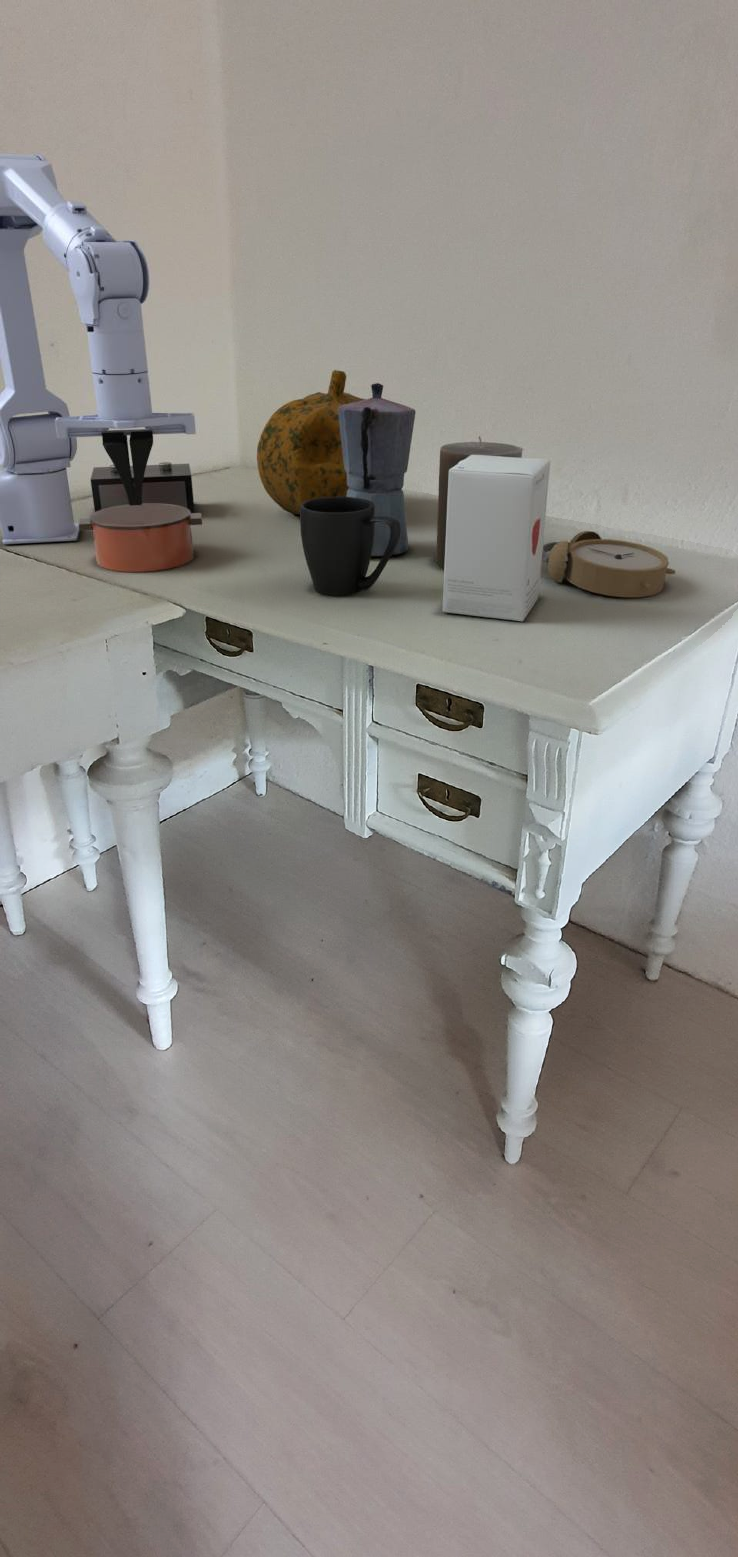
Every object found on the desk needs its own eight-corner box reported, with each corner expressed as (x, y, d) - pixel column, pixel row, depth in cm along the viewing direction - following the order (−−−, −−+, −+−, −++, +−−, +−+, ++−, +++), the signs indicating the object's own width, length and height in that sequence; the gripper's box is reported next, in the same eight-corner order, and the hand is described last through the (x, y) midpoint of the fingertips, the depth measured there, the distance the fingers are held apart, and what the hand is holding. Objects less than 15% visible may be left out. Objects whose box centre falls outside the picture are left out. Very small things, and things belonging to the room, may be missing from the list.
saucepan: (82, 575, 115) (75, 529, 113) (87, 548, 126) (81, 506, 123) (207, 568, 118) (203, 522, 115) (202, 542, 128) (198, 500, 126)
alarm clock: (647, 579, 103) (526, 533, 110) (633, 621, 106) (517, 574, 112) (686, 556, 111) (571, 514, 118) (672, 595, 114) (561, 552, 120)
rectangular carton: (524, 623, 100) (536, 474, 93) (440, 614, 102) (445, 468, 95) (541, 597, 107) (553, 457, 100) (462, 589, 110) (468, 452, 103)
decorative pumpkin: (246, 496, 149) (250, 355, 139) (377, 499, 154) (389, 364, 144) (267, 533, 132) (273, 376, 122) (413, 536, 138) (430, 386, 128)
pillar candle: (448, 577, 114) (452, 444, 107) (427, 555, 123) (430, 430, 115) (526, 572, 116) (536, 441, 109) (501, 550, 124) (508, 428, 117)
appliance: (96, 522, 138) (89, 473, 135) (99, 508, 146) (92, 461, 143) (195, 517, 141) (190, 469, 137) (192, 503, 148) (188, 457, 145)
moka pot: (415, 536, 131) (419, 377, 121) (408, 569, 117) (411, 393, 107) (345, 535, 131) (343, 376, 122) (330, 567, 118) (326, 392, 108)
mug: (373, 611, 103) (373, 521, 99) (287, 591, 110) (284, 506, 105) (416, 592, 109) (418, 506, 105) (332, 574, 115) (330, 492, 111)
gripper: (45, 377, 97) (66, 514, 103) (191, 374, 99) (202, 508, 106) (51, 370, 103) (70, 500, 109) (189, 367, 105) (200, 494, 112)
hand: (135, 503), depth 108 cm, fingers closed
